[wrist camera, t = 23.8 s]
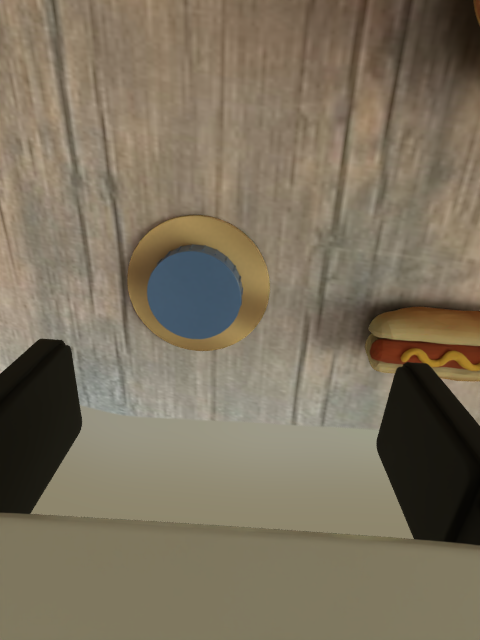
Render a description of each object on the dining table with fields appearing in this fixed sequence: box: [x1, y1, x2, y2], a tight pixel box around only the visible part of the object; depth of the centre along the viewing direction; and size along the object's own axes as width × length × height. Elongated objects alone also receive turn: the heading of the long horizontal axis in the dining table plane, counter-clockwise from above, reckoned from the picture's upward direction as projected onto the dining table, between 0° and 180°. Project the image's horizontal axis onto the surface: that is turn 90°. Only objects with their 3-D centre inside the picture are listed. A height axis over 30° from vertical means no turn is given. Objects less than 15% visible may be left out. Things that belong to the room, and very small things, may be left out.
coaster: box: [127, 215, 270, 351], centre depth 29 cm, size 11×11×1 cm
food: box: [365, 307, 480, 381], centre depth 27 cm, size 14×6×5 cm, turn 87°
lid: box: [147, 244, 243, 339], centre depth 28 cm, size 7×7×2 cm
